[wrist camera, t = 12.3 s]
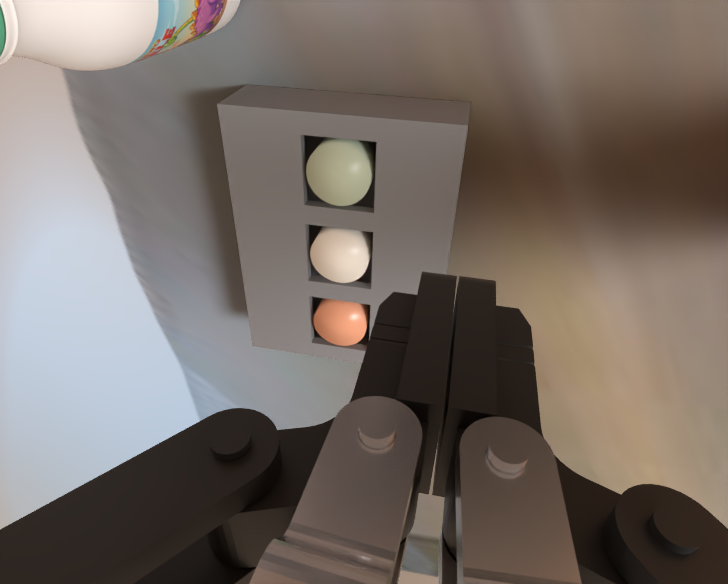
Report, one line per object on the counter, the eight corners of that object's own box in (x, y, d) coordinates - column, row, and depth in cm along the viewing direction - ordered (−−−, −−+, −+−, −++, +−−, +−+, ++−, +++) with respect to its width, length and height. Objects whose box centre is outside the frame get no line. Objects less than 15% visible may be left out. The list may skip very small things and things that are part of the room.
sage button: (382, 126, 35) (371, 146, 32) (379, 185, 37) (369, 209, 34) (321, 121, 36) (304, 140, 32) (322, 179, 38) (307, 202, 35)
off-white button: (378, 210, 39) (368, 236, 36) (376, 258, 41) (367, 286, 38) (323, 204, 39) (308, 228, 36) (324, 252, 42) (311, 278, 39)
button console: (471, 102, 34) (468, 125, 30) (437, 336, 46) (432, 374, 42) (246, 84, 36) (216, 103, 32) (272, 311, 49) (252, 345, 45)
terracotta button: (375, 279, 43) (366, 308, 39) (373, 319, 45) (365, 349, 42) (325, 272, 43) (312, 300, 40) (326, 312, 46) (314, 341, 43)
